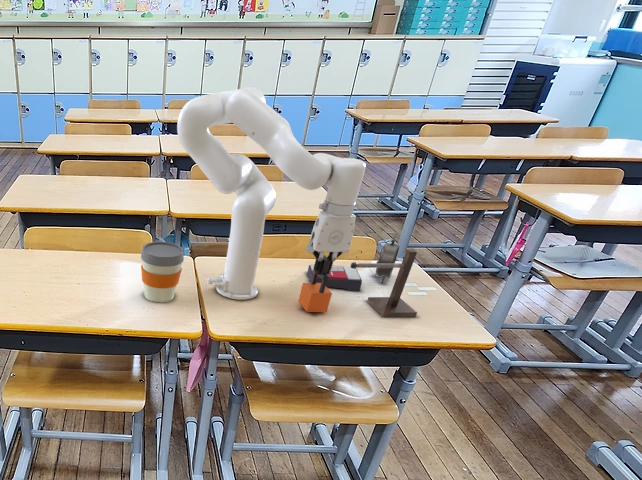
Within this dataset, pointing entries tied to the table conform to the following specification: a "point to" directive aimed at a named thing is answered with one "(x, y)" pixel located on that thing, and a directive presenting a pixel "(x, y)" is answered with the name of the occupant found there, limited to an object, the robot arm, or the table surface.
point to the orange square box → (316, 291)
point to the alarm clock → (387, 258)
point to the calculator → (339, 277)
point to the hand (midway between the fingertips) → (321, 272)
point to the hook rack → (394, 303)
